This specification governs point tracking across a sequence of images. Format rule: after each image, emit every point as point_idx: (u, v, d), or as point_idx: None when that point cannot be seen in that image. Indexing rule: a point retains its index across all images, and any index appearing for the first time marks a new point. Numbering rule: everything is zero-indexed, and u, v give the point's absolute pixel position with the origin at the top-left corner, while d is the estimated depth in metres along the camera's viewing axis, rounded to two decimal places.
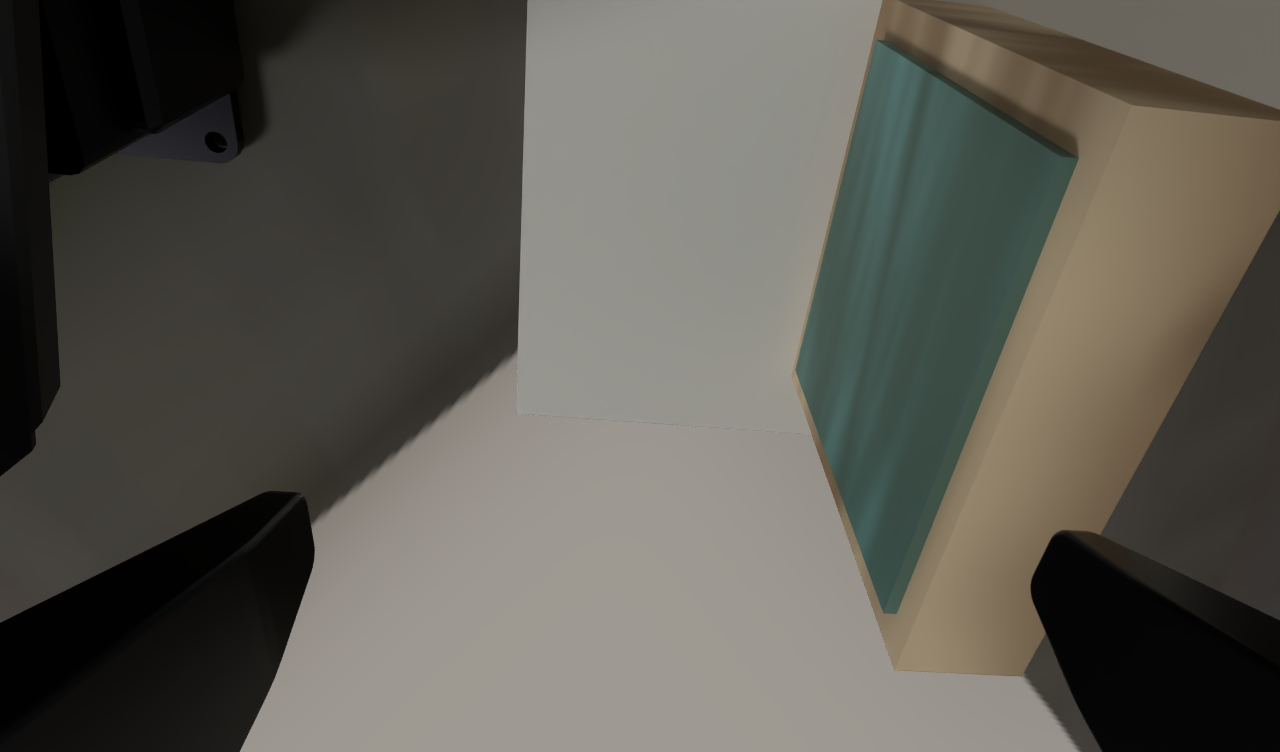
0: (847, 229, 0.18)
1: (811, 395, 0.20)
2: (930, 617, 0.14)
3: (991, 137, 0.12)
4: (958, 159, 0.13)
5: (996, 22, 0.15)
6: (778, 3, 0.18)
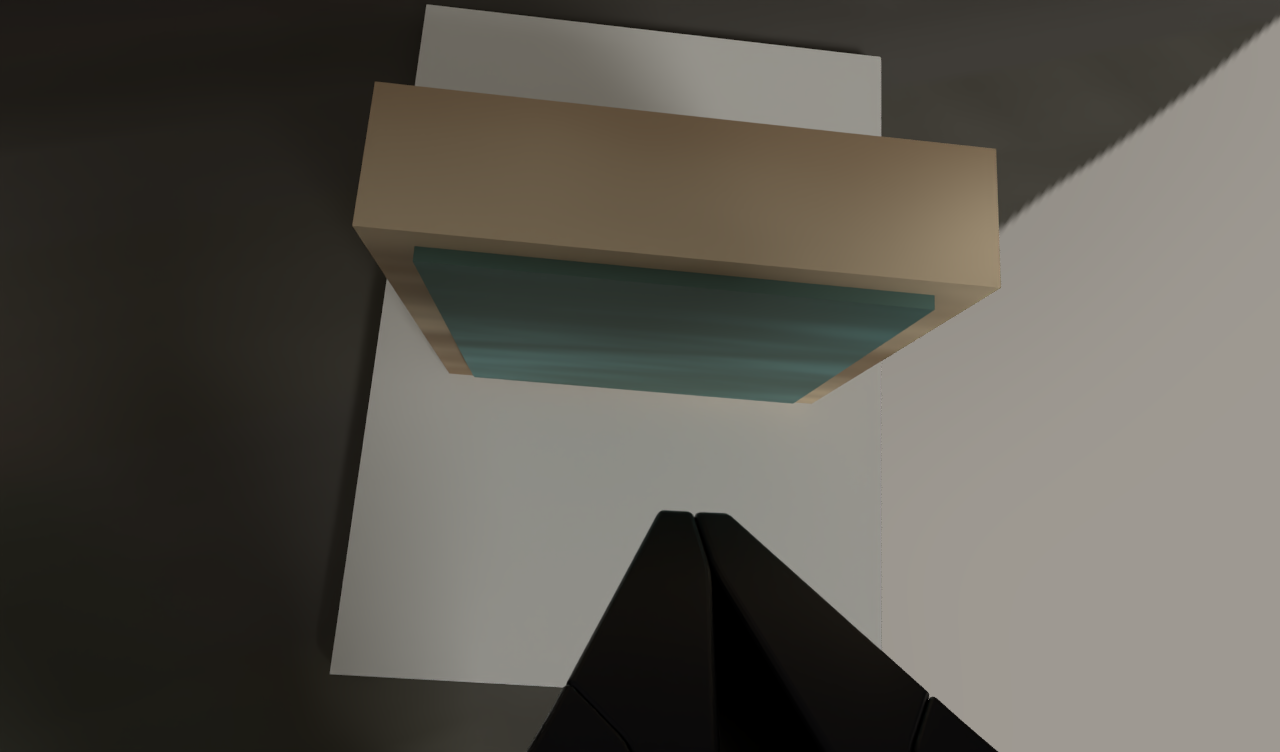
0: (625, 379, 0.20)
1: (798, 389, 0.19)
2: (913, 264, 0.12)
3: (449, 300, 0.14)
4: (487, 317, 0.15)
5: None
6: (455, 459, 0.21)
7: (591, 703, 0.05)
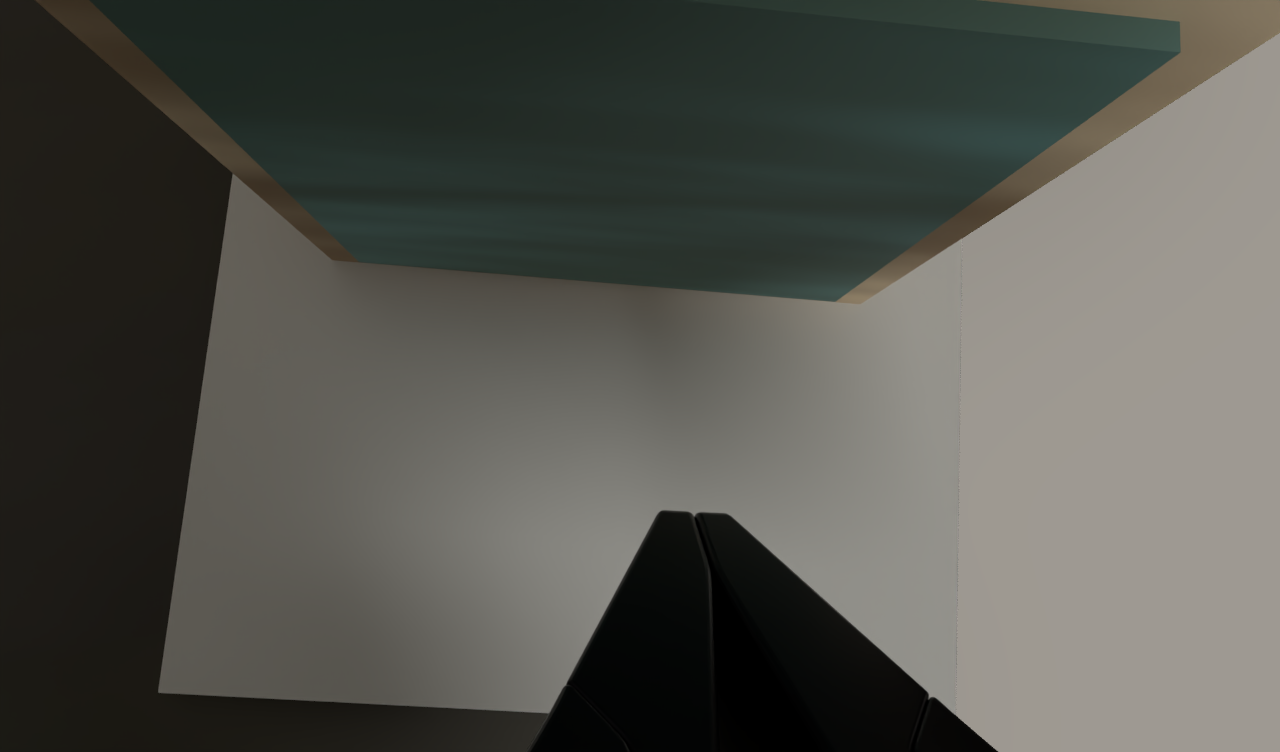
0: (579, 260, 0.13)
1: (847, 275, 0.13)
2: None
3: (197, 75, 0.07)
4: (293, 121, 0.08)
5: None
6: (341, 383, 0.15)
7: (591, 703, 0.05)
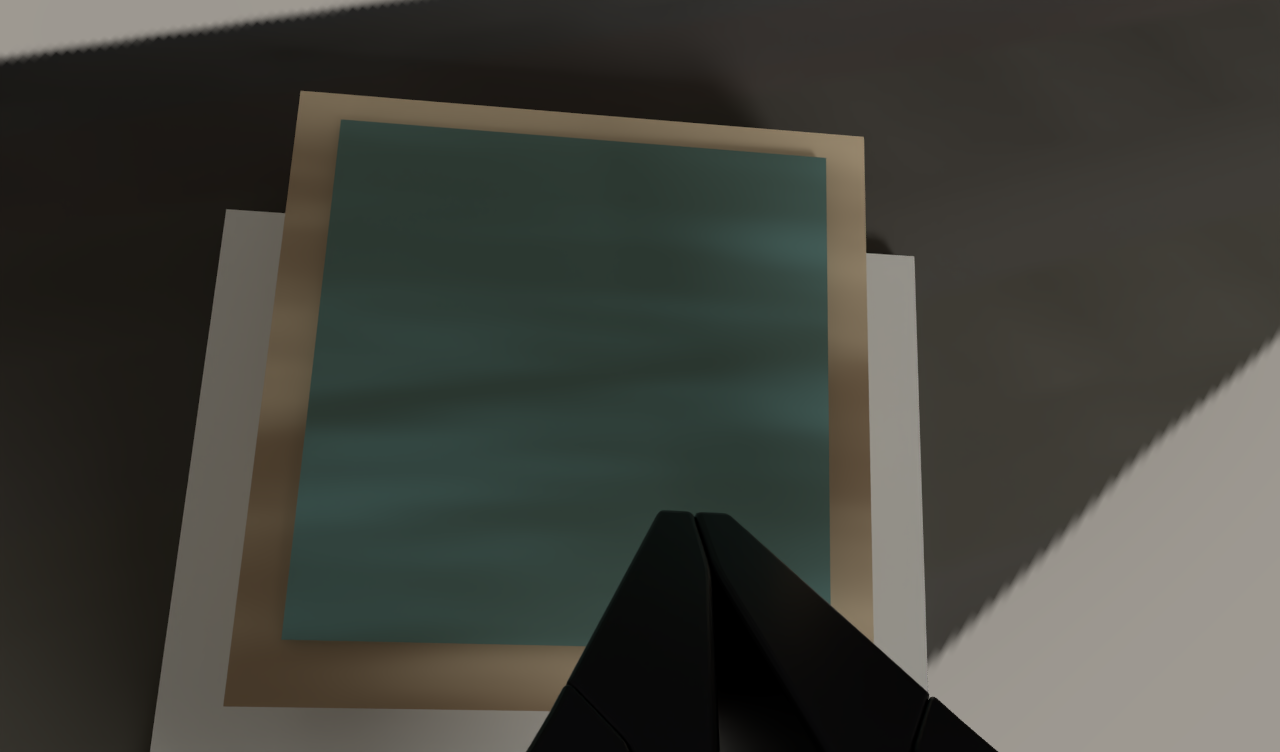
0: (545, 558, 0.12)
1: (808, 536, 0.13)
2: None
3: (347, 229, 0.13)
4: (378, 279, 0.13)
5: None
6: None
7: (591, 703, 0.05)
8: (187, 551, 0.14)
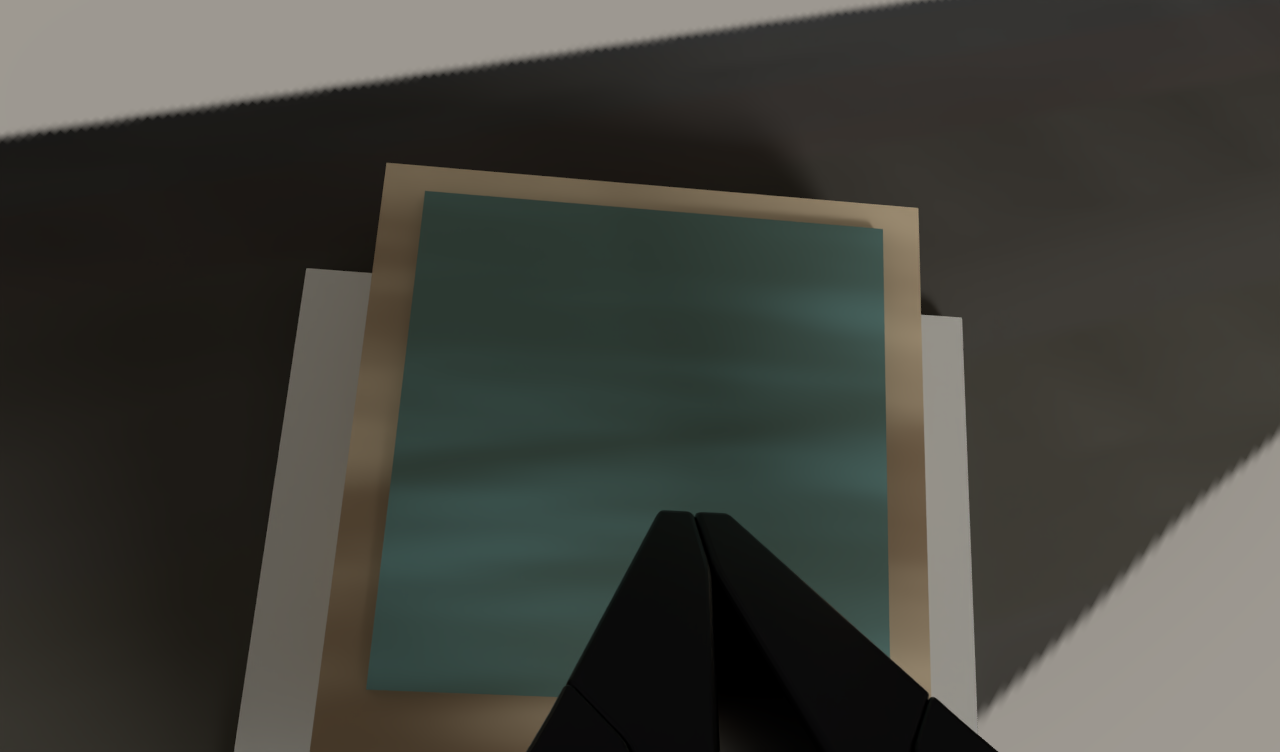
0: None
1: (868, 596, 0.13)
2: None
3: (430, 295, 0.14)
4: (459, 343, 0.14)
5: None
6: None
7: (591, 703, 0.05)
8: (265, 597, 0.15)
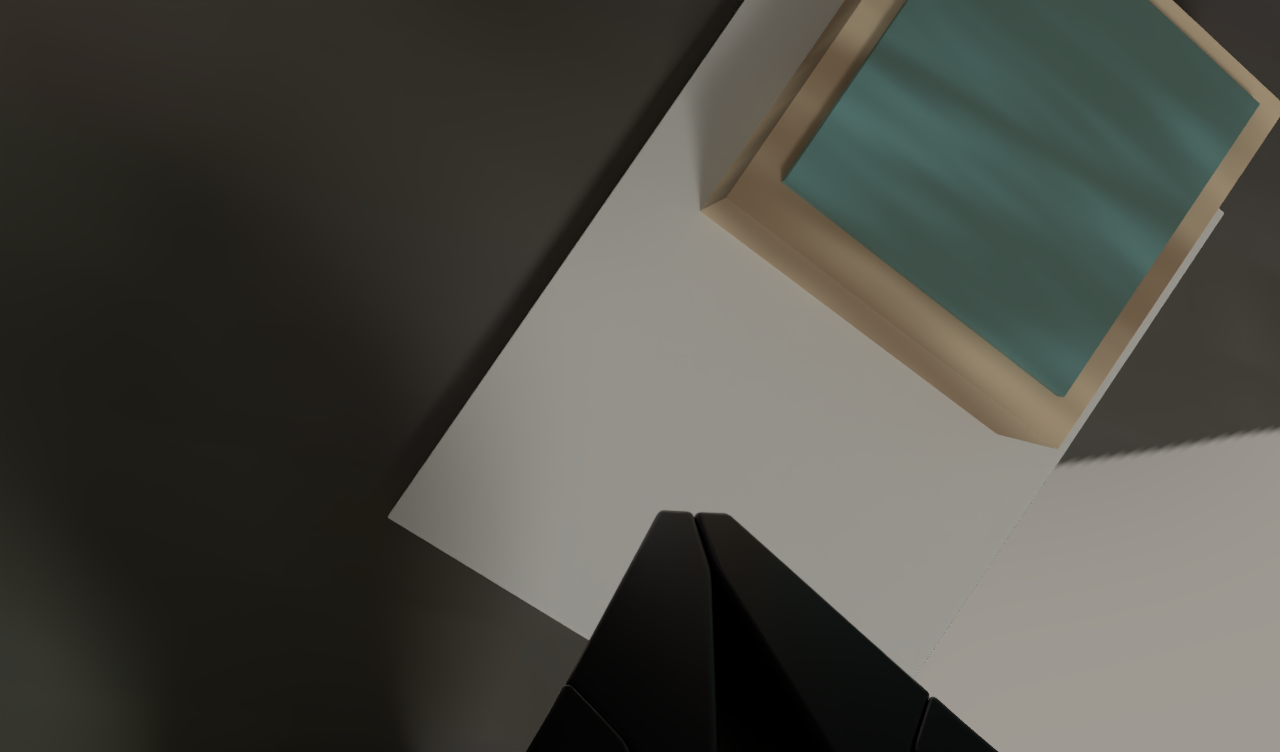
0: (950, 235, 0.18)
1: (1095, 325, 0.19)
2: None
3: None
4: None
5: (786, 95, 0.19)
6: (602, 382, 0.20)
7: (591, 703, 0.05)
8: (689, 93, 0.19)
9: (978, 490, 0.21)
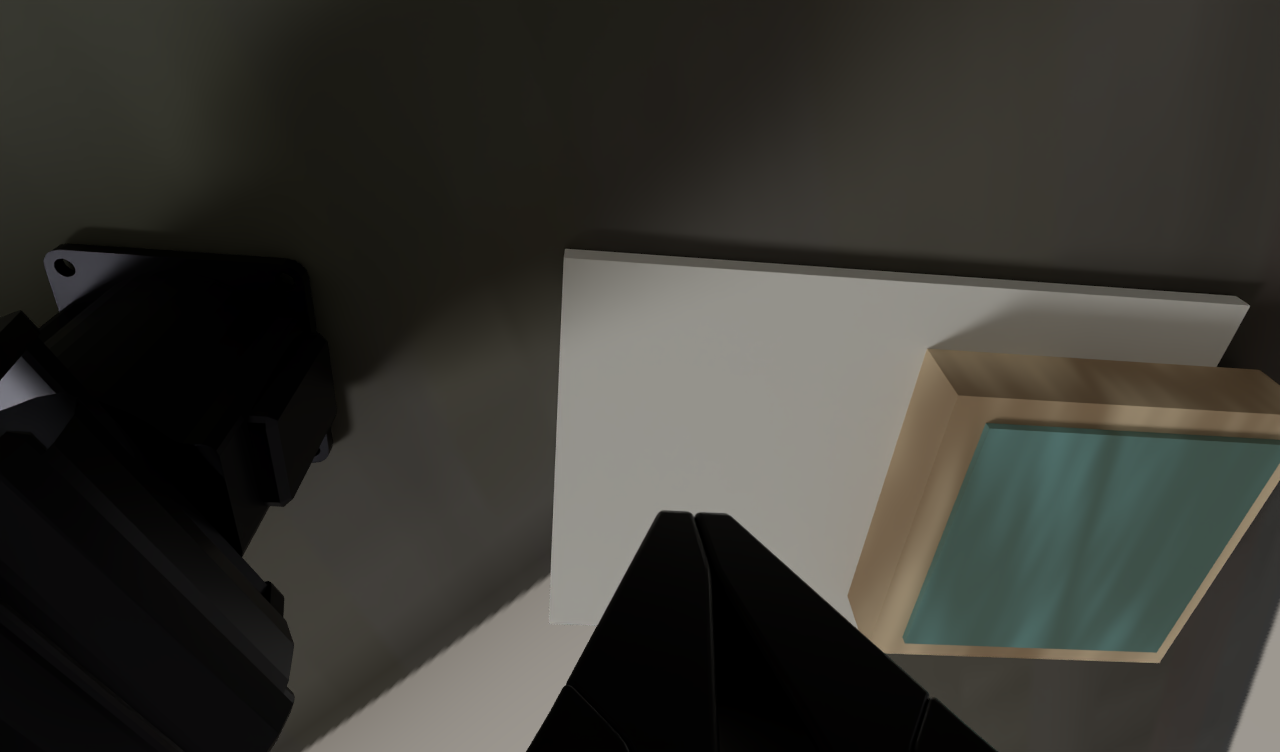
0: (990, 538, 0.23)
1: (962, 637, 0.25)
2: None
3: (1218, 450, 0.21)
4: (1179, 466, 0.22)
5: (1050, 375, 0.22)
6: (756, 350, 0.22)
7: (591, 703, 0.05)
8: (1021, 295, 0.22)
9: None
